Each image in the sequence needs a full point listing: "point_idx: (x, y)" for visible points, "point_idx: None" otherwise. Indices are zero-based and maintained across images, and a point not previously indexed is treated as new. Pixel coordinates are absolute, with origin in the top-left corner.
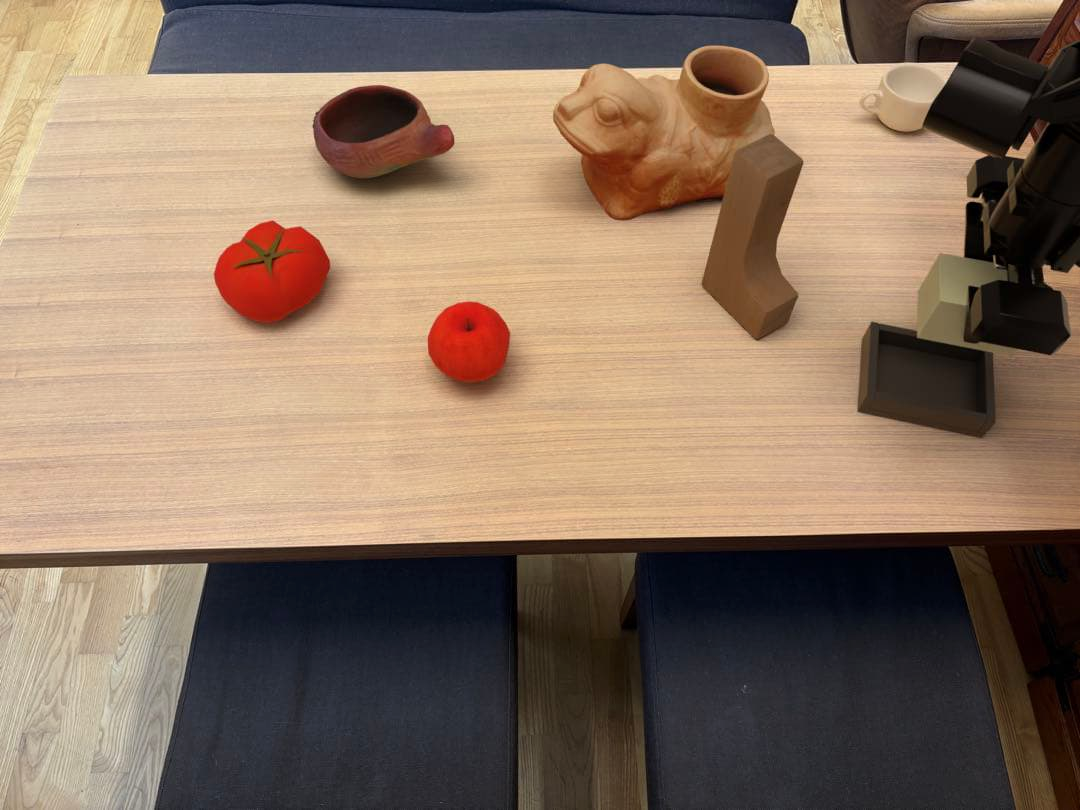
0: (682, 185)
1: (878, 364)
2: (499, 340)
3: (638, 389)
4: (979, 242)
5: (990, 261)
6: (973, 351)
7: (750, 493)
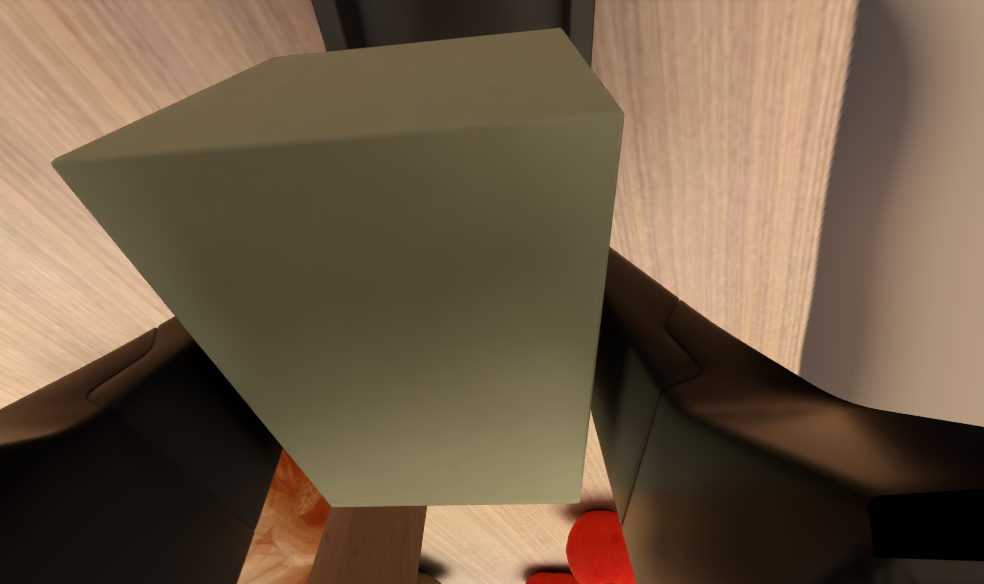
0: (298, 489)
1: None
2: (617, 565)
3: (595, 432)
4: (210, 532)
5: (228, 384)
6: (342, 9)
7: (745, 328)
